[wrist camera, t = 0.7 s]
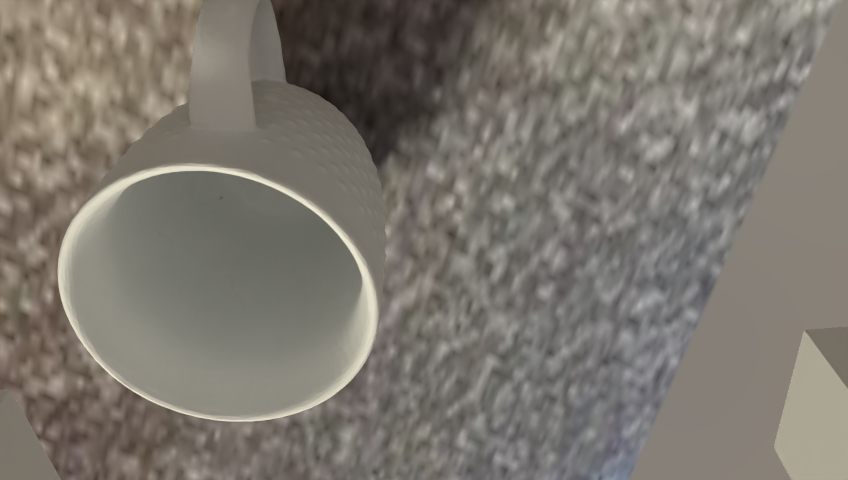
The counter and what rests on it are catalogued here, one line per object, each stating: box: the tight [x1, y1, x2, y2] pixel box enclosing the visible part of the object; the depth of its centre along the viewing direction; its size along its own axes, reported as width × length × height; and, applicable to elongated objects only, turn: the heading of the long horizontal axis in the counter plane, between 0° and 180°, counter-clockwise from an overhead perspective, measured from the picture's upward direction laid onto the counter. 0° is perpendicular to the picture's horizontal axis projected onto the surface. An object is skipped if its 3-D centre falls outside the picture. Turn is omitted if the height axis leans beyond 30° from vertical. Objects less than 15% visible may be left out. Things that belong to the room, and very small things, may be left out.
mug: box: [58, 0, 386, 421], centre depth 28 cm, size 15×11×13 cm
